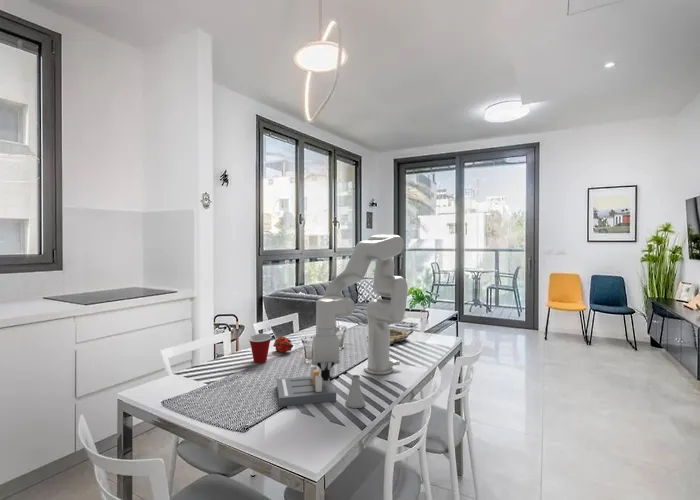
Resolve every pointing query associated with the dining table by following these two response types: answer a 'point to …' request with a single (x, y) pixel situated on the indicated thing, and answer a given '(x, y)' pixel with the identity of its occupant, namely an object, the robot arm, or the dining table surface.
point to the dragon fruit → (283, 344)
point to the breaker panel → (305, 390)
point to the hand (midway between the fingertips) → (325, 379)
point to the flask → (355, 394)
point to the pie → (397, 336)
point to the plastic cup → (260, 347)
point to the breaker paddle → (315, 373)
